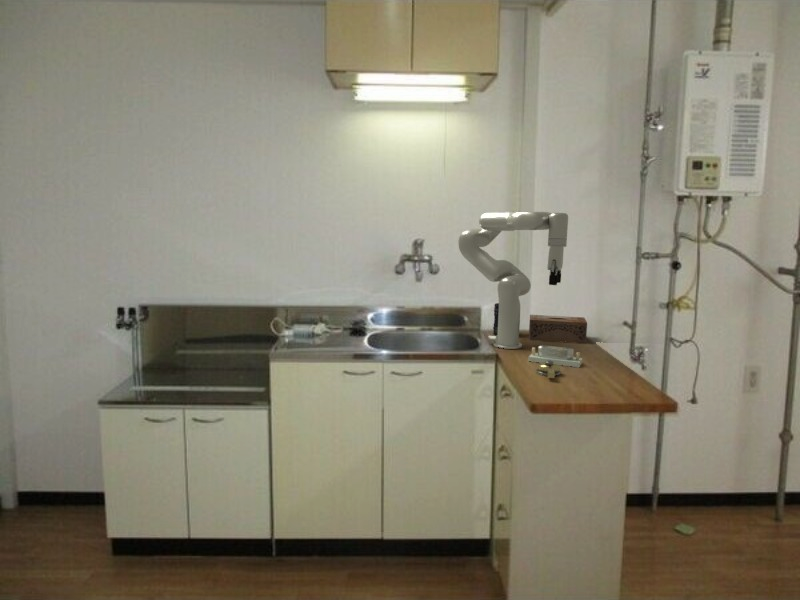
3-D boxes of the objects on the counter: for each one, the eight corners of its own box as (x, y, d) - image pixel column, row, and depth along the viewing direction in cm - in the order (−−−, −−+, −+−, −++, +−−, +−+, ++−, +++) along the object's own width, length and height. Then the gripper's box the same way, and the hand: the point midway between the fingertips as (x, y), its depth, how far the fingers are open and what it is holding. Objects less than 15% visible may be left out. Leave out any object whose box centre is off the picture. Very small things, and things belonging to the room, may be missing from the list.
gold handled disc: (537, 366, 235) (537, 358, 235) (558, 368, 234) (558, 359, 234) (539, 377, 221) (540, 368, 220) (562, 378, 220) (563, 369, 219)
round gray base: (534, 374, 229) (534, 372, 229) (538, 368, 237) (538, 366, 237) (558, 377, 225) (558, 375, 225) (562, 371, 234) (562, 369, 233)
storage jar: (514, 337, 295) (516, 306, 292) (494, 336, 295) (495, 306, 293) (511, 332, 305) (513, 303, 302) (491, 332, 305) (493, 302, 302)
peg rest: (528, 361, 248) (528, 349, 247) (532, 357, 255) (532, 345, 254) (579, 367, 240) (580, 355, 239) (581, 363, 247) (582, 350, 247)
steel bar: (572, 360, 243) (572, 350, 242) (536, 356, 248) (537, 346, 248) (573, 358, 247) (574, 348, 246) (538, 354, 252) (539, 344, 251)
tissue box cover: (582, 337, 298) (584, 317, 297) (585, 344, 284) (587, 322, 283) (528, 334, 303) (529, 314, 302) (529, 340, 289) (530, 319, 288)
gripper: (551, 241, 264) (549, 281, 266) (544, 243, 248) (542, 285, 251) (569, 242, 261) (567, 282, 263) (563, 244, 245) (560, 286, 248)
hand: (554, 283), depth 257 cm, fingers open, 9 cm apart
